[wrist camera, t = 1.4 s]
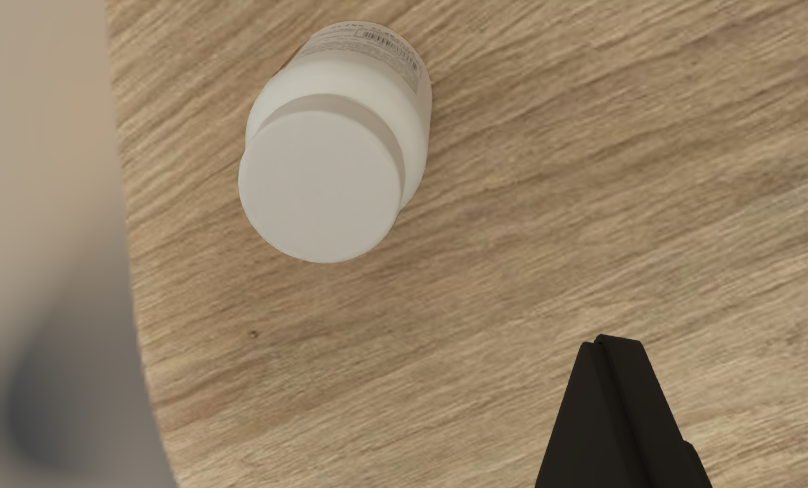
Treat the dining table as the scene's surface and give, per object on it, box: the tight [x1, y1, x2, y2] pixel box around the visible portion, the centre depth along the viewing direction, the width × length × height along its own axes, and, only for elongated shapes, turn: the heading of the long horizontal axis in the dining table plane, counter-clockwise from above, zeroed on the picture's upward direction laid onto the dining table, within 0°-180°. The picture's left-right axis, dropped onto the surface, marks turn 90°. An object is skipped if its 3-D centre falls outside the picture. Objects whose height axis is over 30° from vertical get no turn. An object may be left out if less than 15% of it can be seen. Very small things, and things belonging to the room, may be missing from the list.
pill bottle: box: [238, 21, 432, 263], centre depth 19 cm, size 4×4×8 cm
